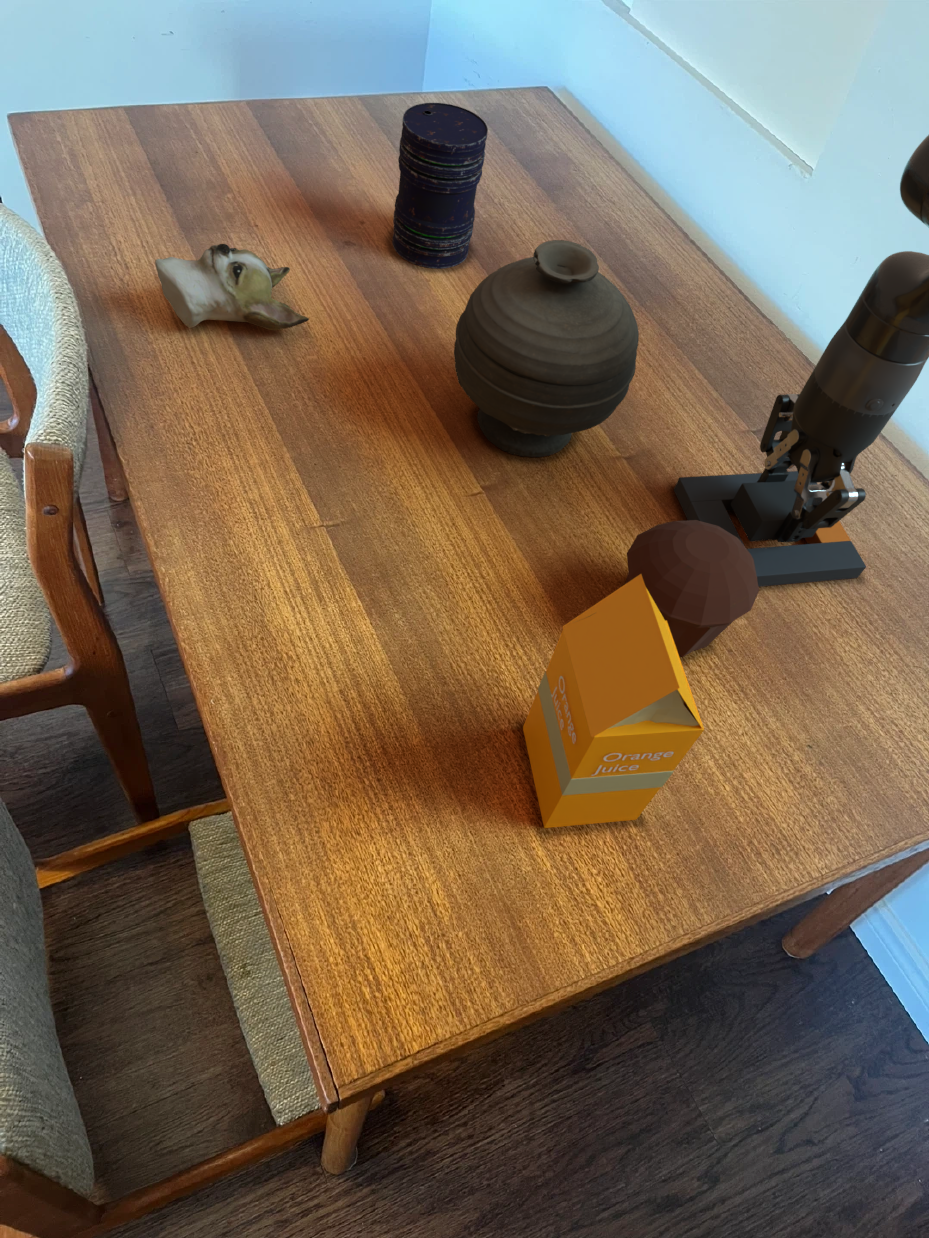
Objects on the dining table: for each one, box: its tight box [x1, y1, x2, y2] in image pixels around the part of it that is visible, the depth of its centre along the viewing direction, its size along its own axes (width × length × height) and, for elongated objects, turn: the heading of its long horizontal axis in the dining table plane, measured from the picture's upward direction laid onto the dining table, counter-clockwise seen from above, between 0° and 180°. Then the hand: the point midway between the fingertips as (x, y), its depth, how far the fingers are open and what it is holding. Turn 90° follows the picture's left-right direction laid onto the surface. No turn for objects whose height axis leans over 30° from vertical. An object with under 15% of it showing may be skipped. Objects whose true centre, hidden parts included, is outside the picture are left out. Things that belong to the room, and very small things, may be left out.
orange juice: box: [522, 574, 705, 829], centre depth 62 cm, size 8×9×20 cm
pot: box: [453, 239, 640, 458], centre depth 85 cm, size 18×18×20 cm
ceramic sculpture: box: [154, 243, 310, 331], centre depth 93 cm, size 11×9×15 cm
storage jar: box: [391, 102, 489, 270], centre depth 104 cm, size 10×10×15 cm
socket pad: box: [673, 470, 867, 588], centre depth 88 cm, size 15×13×2 cm
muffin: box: [624, 520, 760, 658], centre depth 77 cm, size 12×11×10 cm
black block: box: [731, 480, 818, 543], centre depth 86 cm, size 7×5×3 cm
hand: (773, 517), depth 87 cm, fingers closed on black block, 5 cm apart
